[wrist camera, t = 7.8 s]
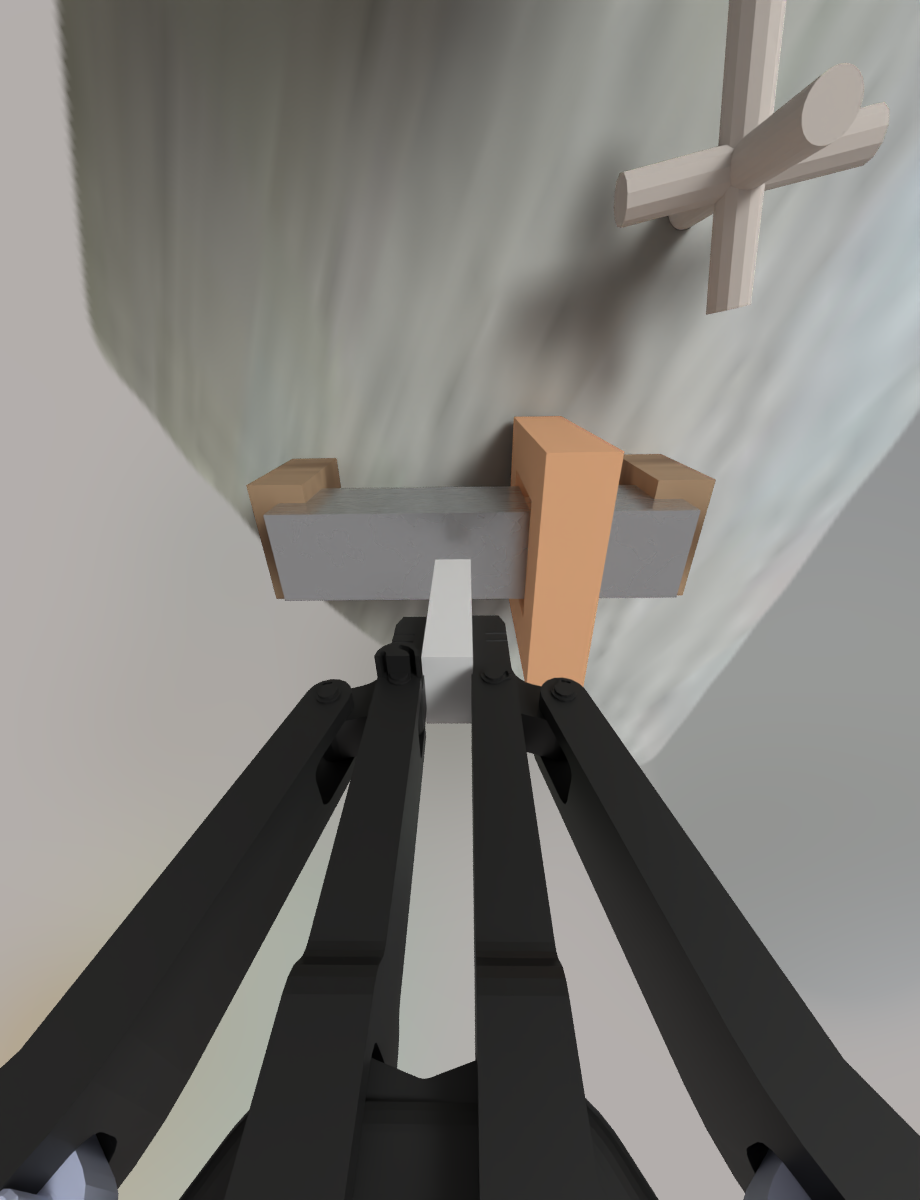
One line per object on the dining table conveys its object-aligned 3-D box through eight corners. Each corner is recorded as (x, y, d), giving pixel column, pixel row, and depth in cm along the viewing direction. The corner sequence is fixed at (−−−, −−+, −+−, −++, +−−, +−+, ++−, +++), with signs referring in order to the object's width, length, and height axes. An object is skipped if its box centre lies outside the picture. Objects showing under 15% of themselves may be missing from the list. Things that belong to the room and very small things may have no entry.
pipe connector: (594, 338, 25) (664, 326, 16) (585, 99, 20) (678, -102, 11) (771, 298, 24) (947, 261, 15) (807, 34, 19) (1095, -240, 10)
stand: (292, 458, 28) (246, 485, 22) (661, 454, 28) (715, 479, 22) (312, 553, 32) (276, 598, 26) (640, 550, 32) (682, 595, 26)
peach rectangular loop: (513, 416, 27) (546, 452, 16) (560, 416, 27) (624, 451, 16) (505, 583, 33) (526, 688, 22) (544, 583, 32) (582, 688, 22)
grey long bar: (297, 488, 25) (263, 515, 21) (659, 484, 25) (700, 510, 21) (312, 563, 28) (285, 600, 24) (642, 560, 28) (676, 597, 23)
